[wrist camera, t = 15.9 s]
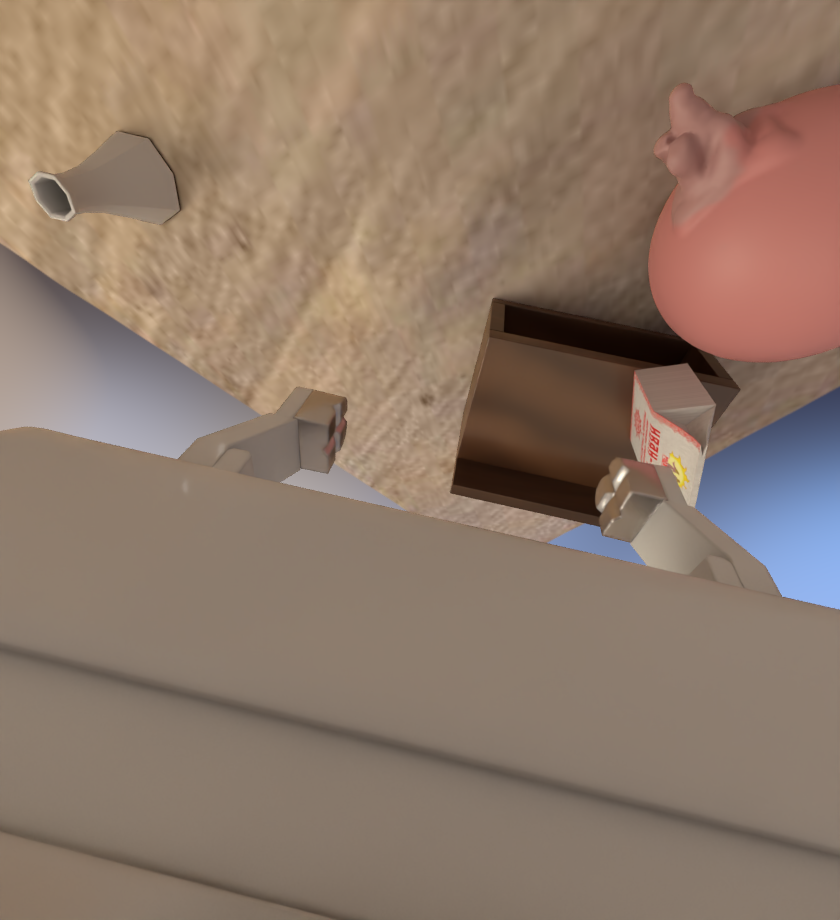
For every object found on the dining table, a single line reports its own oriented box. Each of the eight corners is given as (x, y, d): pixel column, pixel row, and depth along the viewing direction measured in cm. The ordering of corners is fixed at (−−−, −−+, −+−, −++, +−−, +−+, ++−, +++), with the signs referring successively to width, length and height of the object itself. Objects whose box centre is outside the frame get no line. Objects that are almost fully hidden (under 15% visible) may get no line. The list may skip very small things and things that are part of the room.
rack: (492, 297, 40) (486, 359, 30) (701, 340, 39) (764, 418, 30) (462, 416, 49) (450, 493, 39) (631, 453, 49) (662, 540, 39)
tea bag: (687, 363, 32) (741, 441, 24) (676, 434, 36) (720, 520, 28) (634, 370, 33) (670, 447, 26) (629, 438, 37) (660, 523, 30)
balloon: (765, -50, 25) (988, -190, 13) (899, 208, 31) (1129, 267, 20) (553, 183, 34) (575, 222, 22) (691, 347, 40) (764, 445, 28)
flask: (194, 219, 40) (120, 244, 33) (132, 229, 42) (48, 255, 34) (153, 123, 36) (56, 126, 28) (85, 138, 37) (-23, 146, 30)
